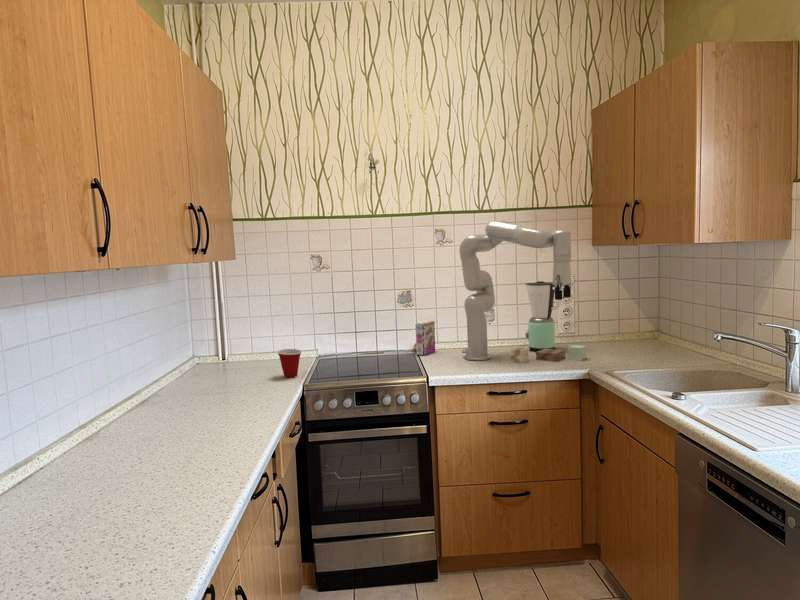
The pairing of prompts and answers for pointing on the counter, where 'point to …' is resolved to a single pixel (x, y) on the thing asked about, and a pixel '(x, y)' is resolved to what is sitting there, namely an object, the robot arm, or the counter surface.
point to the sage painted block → (577, 352)
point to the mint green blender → (541, 316)
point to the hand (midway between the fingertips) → (562, 298)
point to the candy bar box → (425, 338)
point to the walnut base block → (550, 355)
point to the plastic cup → (289, 361)
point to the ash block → (519, 355)
